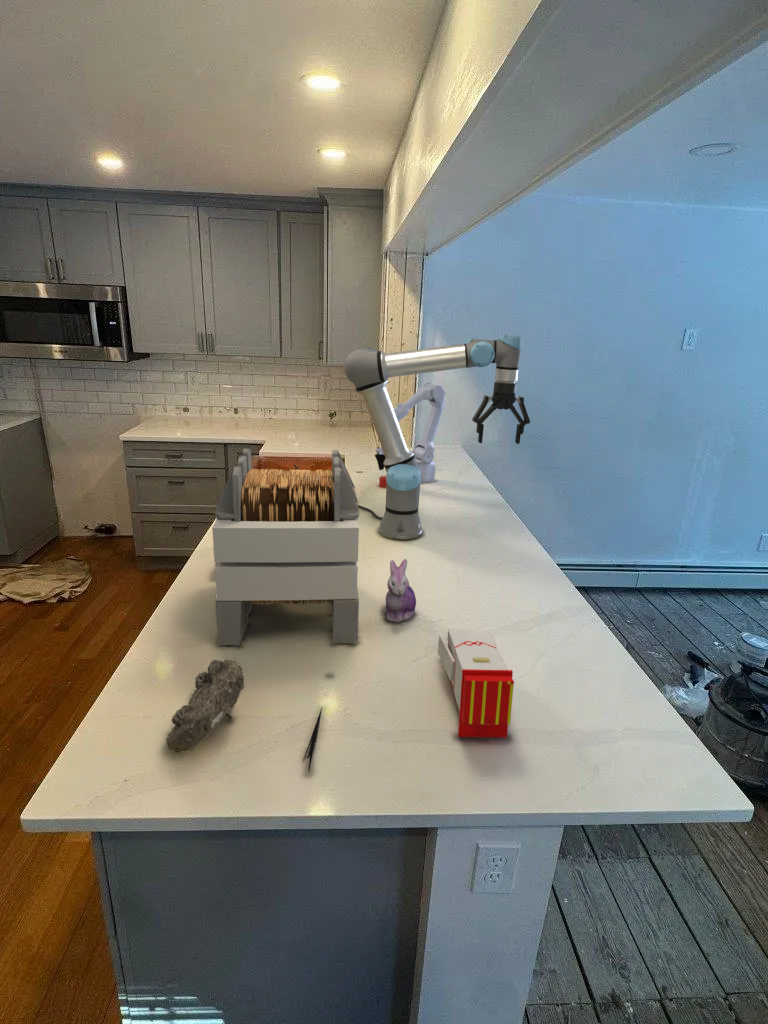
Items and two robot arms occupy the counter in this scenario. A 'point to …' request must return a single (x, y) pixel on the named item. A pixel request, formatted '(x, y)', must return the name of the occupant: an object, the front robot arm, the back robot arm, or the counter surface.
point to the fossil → (206, 705)
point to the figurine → (399, 594)
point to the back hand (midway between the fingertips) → (386, 471)
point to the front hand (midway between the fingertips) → (498, 442)
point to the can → (382, 481)
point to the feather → (313, 740)
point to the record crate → (286, 545)
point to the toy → (478, 682)
